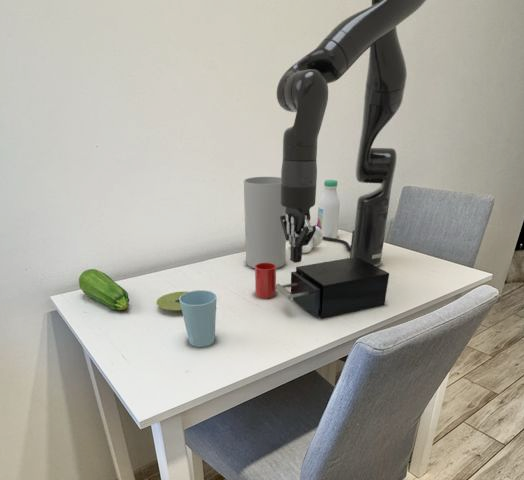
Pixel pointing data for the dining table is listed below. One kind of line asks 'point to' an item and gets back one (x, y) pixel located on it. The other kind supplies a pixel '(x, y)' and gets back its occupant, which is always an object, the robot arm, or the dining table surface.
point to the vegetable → (103, 289)
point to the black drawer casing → (347, 285)
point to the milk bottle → (329, 210)
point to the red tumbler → (265, 280)
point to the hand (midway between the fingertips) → (295, 261)
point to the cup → (199, 316)
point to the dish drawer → (303, 292)
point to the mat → (170, 301)
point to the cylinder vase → (264, 221)
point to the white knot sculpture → (313, 240)
